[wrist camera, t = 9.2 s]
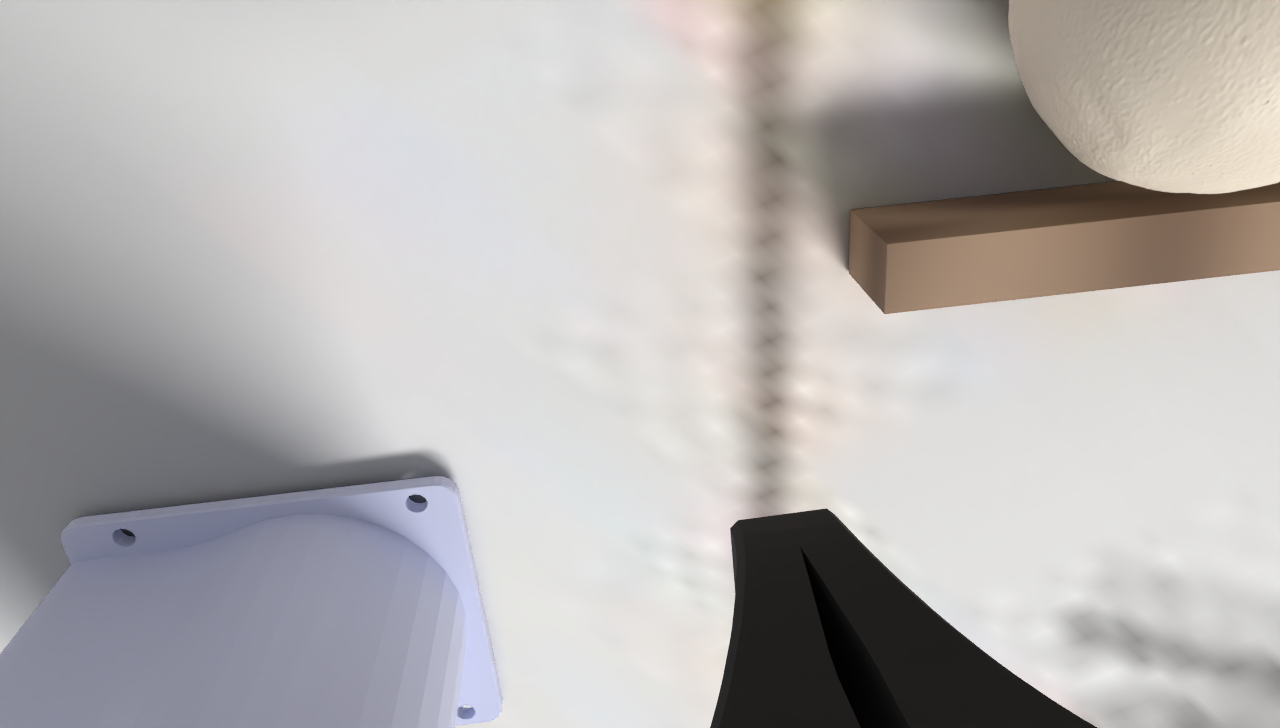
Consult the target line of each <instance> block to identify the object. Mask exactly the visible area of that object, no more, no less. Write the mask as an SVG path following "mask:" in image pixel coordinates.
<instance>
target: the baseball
mask: <svg viewBox="0 0 1280 728" xmlns="http://www.w3.org/2000/svg"><path fill="white" fill-rule="evenodd" d="M1008 26H1009V33H1010V34H1009V35H1010V39H1011V41H1010V42H1011V44H1012V48H1013V53H1014V58H1015V62H1016V67H1017V71H1018V74H1019V76H1020V79H1021V82H1022V84H1023V85H1024V87H1025V90H1026V92H1027V95H1028V98H1029V99H1030V101H1031V104H1032V106H1033V107H1034V108H1035V110H1036V111H1037V113H1038V114H1039V115H1040V117H1041V118H1042V120H1043V121H1045V123H1046V124H1047V126H1048V127H1049V128H1050V129H1051V130H1052V132H1053V133H1054V135H1056V136H1057V138H1058V139H1059V140H1060V142H1061V143H1062V144H1063V145H1064V146H1065V148H1067V149H1068V150H1069V151H1070V152H1071V153H1072V154H1073V155H1074V156H1075V157H1076V158H1077V159H1078V160H1079V161H1081V162H1082V163H1083V164H1085V165H1086V166H1088V167H1089V168H1091V169H1093V170H1094V171H1096V172H1098V173H1100V174H1102V175H1104V176H1107V177H1110V178H1112V179H1115V180H1118V181H1123V182H1126V183H1129V184H1131V185H1136V186H1140V187H1144V188H1146V189H1151V190H1155V191H1161V192H1171V193H1195V194H1222V193H1230V192H1235V191H1239V190H1246V189H1252V188H1258V187H1262V186H1266V185H1271V184H1276V183H1278V182H1280V0H1009V13H1008Z"/></svg>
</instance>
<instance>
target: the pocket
mask: <svg viewBox="0 0 1280 728" xmlns="http://www.w3.org/2000/svg"><path fill="white" fill-rule="evenodd" d="M1275 270H1280V182H1278V183H1276V184H1271V185H1266V186H1262V187H1258V188H1252V189H1246V190H1239V191H1235V192H1230V193H1222V194H1195V193H1171V192H1161V191H1155V190H1151V189H1146V188H1144V187H1140V186H1136V185H1131V184H1129V183H1126V182H1123V181H1115V182H1106V183H1096V184H1087V185H1078V186H1068V187H1059V188H1049V189H1040V190H1031V191H1021V192H1012V193H1003V194H993V195H984V196H975V197H965V198H956V199H947V200H937V201H928V202H919V203H909V204H900V205H890V206H881V207H872V208H862V209H853V210H850V240H849V274H850V275H851V276H852V277H853V278H854V279H855V281H856V282H857V283H858V284H859V285H860V286H861V288H862V289H863V290H864V291H865V292H866V293H867V294H868V296H869V297H870V298H871V299H872V300H873V301H874V302H875V304H876V305H877V306H878V307H879V308H880V309H881V310H882V312H883V313H884V314H889V313H898V312H907V311H916V310H925V309H934V308H943V307H952V306H961V305H970V304H979V303H988V302H997V301H1006V300H1015V299H1024V298H1033V297H1042V296H1051V295H1060V294H1069V293H1078V292H1087V291H1096V290H1105V289H1114V288H1123V287H1132V286H1141V285H1150V284H1159V283H1168V282H1177V281H1186V280H1194V279H1203V278H1212V277H1221V276H1230V275H1239V274H1248V273H1257V272H1266V271H1275Z"/></svg>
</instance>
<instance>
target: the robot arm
mask: <svg viewBox="0 0 1280 728" xmlns="http://www.w3.org/2000/svg"><path fill="white" fill-rule="evenodd" d="M414 494H416V495H421V496H423V497H424V498H425V499H426V500H427V501H426V502H424V503H415V502H413V501H411V500H410V498H409V496H411V495H414ZM120 529H127V530H129V531H131V532H132V533H133V534H134V535H135V537H132V536H127V535H126V534H124V533H123V532H122V531H121V530H120ZM730 530H731V542H732V555H733V568H734V581H735V594H736V595H735V605H734V615H733V625H732V632H731V638H730V644H729V649H728V654H727V659H726V665H725V670H724V675H723V680H722V685H721V689H720V693H719V697H718V701H717V705H716V709H715V713H714V716H713V720H712V723H711V727H710V728H1097V727H1095V726H1094V725H1092V724H1090V723H1088V722H1087V721H1085V720H1083V719H1081V718H1080V717H1078V716H1077V715H1075V714H1073V713H1072V712H1070V711H1069V710H1067V709H1065V708H1064V707H1062V706H1061V705H1059V704H1057V703H1056V702H1054V701H1053V700H1051V699H1050V698H1048V697H1047V696H1045V695H1044V694H1042V693H1041V692H1039V691H1038V690H1037V689H1035V688H1034V687H1032V686H1031V685H1029V684H1028V683H1026V682H1025V681H1023V680H1022V679H1020V678H1019V677H1017V676H1016V675H1015V674H1013V673H1012V672H1010V671H1009V670H1008V669H1006V668H1005V667H1004V666H1002V665H1001V664H1000V663H998V662H997V661H996V660H994V659H993V658H992V657H990V656H989V655H988V654H986V653H985V652H984V651H982V650H981V649H980V648H979V647H977V646H976V645H975V644H974V643H972V642H971V641H970V640H969V639H967V638H966V637H965V636H964V635H962V634H961V633H960V632H959V631H957V630H956V629H955V628H954V627H953V626H951V625H950V624H949V623H948V622H947V621H945V620H944V619H943V618H942V617H941V616H940V615H938V614H937V613H936V612H935V611H934V610H933V609H931V608H930V607H929V606H928V605H927V604H926V603H925V602H924V601H923V600H921V599H920V598H919V597H918V596H917V595H916V594H915V593H914V592H912V591H911V590H910V589H909V588H908V587H907V586H906V585H905V584H904V583H902V582H901V581H900V580H899V579H898V578H897V577H896V576H895V575H894V574H893V573H892V572H891V571H890V570H889V569H888V568H887V567H886V566H885V565H884V564H882V563H881V562H880V561H879V560H878V559H877V558H876V557H875V556H874V555H873V554H872V553H871V552H870V551H869V550H868V549H867V548H866V547H865V546H864V545H863V544H862V543H861V542H860V541H859V540H858V539H857V538H856V537H855V535H854V534H853V533H852V532H851V531H850V530H849V529H848V528H847V527H846V526H845V525H844V524H843V523H842V522H841V521H840V520H839V519H838V518H837V517H836V516H835V515H834V514H833V513H832V512H831V511H829V510H828V509H820V510H813V511H805V512H798V513H790V514H783V515H775V516H768V517H760V518H753V519H745V520H738V521H737V522H736V523H735V524H734V525H733V526H732V527H731V528H730ZM60 539H61V544H62V546H63V548H64V550H65V553H66V555H67V557H68V559H69V561H70V563H71V565H70V566H69V568H68V569H67V570H66V571H65V573H64V574H63V575H62V576H61V578H60V579H59V580H58V582H57V583H56V584H55V585H54V587H53V588H52V589H51V590H50V592H49V593H48V594H47V595H46V597H45V598H44V599H43V601H42V602H41V603H40V604H39V606H38V607H37V608H36V609H35V611H34V612H33V613H32V614H31V616H30V617H29V618H28V620H27V621H26V622H25V623H24V625H23V626H22V627H21V628H20V630H19V631H18V632H17V633H16V635H15V636H14V637H13V639H12V640H11V641H10V642H9V644H8V645H7V646H6V647H5V649H4V650H3V651H2V652H1V654H0V728H455V726H457V725H465V724H473V723H481V722H488V721H491V720H494V719H495V718H497V717H498V716H499V715H500V714H501V712H502V701H503V697H502V693H501V688H500V683H499V678H498V674H497V669H496V664H495V659H494V654H493V650H492V645H491V640H490V635H489V631H488V626H487V621H486V616H485V611H484V607H483V602H482V597H481V592H480V588H479V583H478V578H477V573H476V569H475V564H474V559H473V554H472V549H471V545H470V540H469V535H468V530H467V526H466V521H465V516H464V511H463V506H462V502H461V497H460V492H459V489H458V487H457V485H456V484H455V483H454V482H453V481H452V480H451V479H448V478H446V477H443V476H431V477H423V478H414V479H405V480H397V481H388V482H380V483H371V484H362V485H354V486H345V487H336V488H328V489H319V490H311V491H302V492H293V493H285V494H276V495H267V496H259V497H250V498H241V499H233V500H224V501H216V502H207V503H198V504H190V505H181V506H172V507H164V508H155V509H147V510H138V511H129V512H121V513H112V514H103V515H95V516H86V517H80V518H76V519H74V520H72V521H71V522H70V523H69V524H68V525H67V526H66V527H65V529H64V530H63V531H62V533H61V536H60ZM464 705H467V706H471V708H463V707H461V706H464Z"/></svg>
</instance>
